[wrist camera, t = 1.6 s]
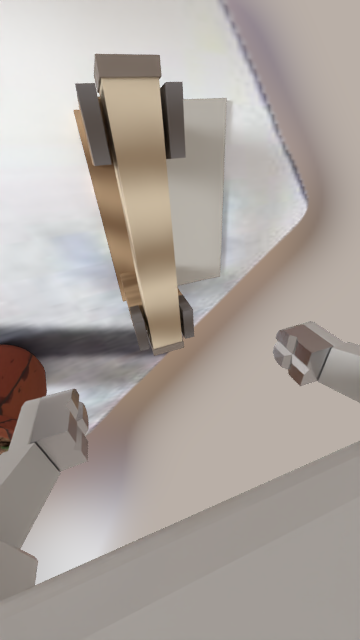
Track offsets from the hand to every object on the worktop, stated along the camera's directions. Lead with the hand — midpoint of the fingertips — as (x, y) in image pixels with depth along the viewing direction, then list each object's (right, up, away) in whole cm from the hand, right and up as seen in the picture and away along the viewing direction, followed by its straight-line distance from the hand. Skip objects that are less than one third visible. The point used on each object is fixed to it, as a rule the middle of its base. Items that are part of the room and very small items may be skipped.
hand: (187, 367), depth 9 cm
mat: (+2, +17, +21) cm, 27 cm away
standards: (-6, +14, +20) cm, 25 cm away
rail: (-3, +9, +12) cm, 15 cm away
